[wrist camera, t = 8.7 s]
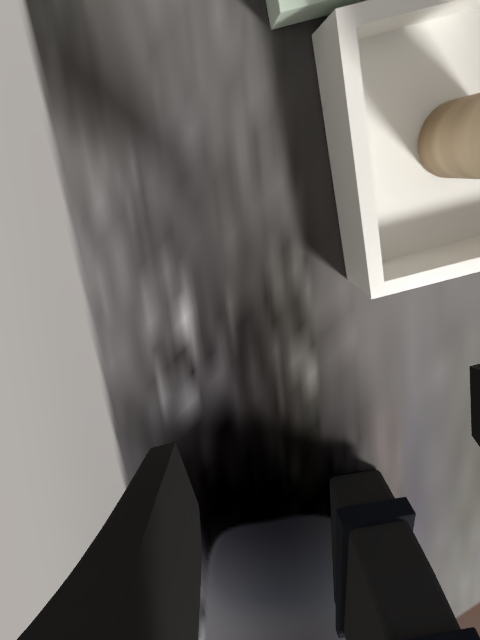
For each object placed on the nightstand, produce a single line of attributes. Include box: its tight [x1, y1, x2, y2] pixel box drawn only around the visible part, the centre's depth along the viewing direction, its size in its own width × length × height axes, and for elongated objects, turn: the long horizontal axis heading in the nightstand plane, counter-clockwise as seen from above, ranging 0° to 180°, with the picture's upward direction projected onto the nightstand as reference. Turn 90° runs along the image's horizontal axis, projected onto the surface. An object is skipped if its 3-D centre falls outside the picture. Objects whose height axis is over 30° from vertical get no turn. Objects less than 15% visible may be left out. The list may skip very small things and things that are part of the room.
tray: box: [312, 0, 480, 299], centre depth 16 cm, size 10×10×3 cm
